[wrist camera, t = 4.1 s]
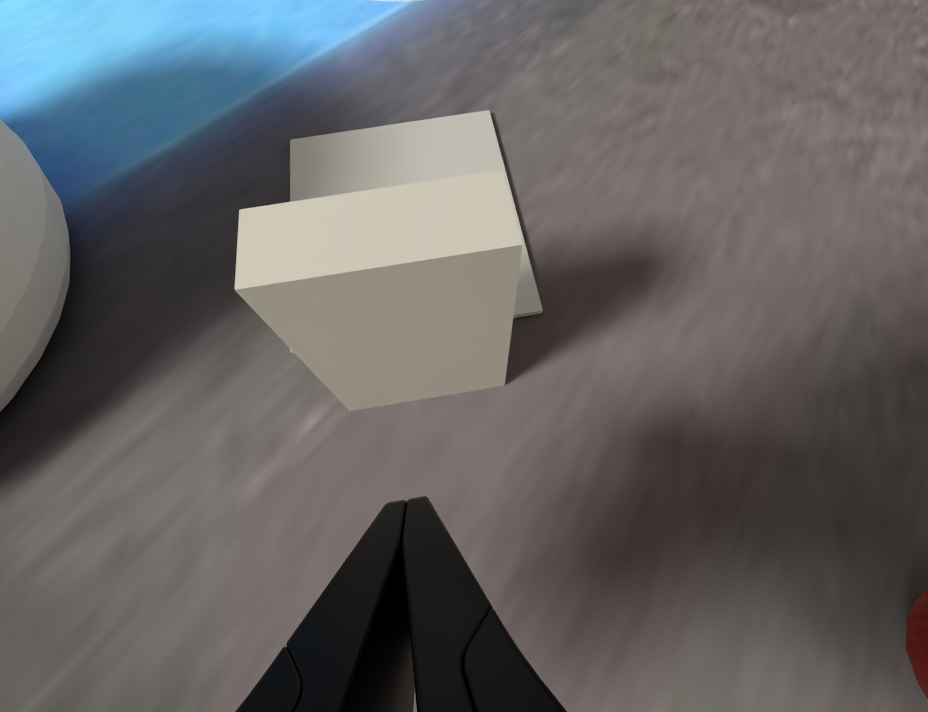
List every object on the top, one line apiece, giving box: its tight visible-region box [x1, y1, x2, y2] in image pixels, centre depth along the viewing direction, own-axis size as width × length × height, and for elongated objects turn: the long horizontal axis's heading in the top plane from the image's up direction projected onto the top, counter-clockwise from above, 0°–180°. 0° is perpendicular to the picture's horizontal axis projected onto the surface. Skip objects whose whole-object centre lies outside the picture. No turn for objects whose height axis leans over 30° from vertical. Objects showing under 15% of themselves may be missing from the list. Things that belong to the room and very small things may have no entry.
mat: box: [290, 110, 543, 354], centre depth 24 cm, size 14×12×1 cm
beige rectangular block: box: [235, 170, 522, 411], centre depth 16 cm, size 3×7×10 cm, turn 99°
